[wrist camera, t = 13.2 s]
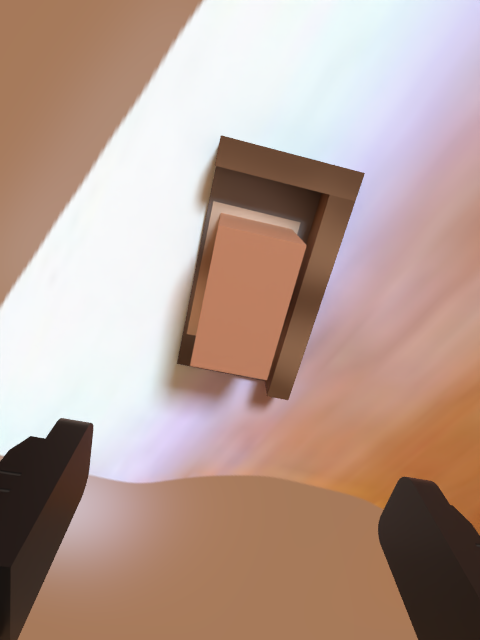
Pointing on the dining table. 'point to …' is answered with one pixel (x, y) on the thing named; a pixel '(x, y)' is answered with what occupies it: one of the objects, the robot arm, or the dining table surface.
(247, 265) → the block
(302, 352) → the tray
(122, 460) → the dining table surface
